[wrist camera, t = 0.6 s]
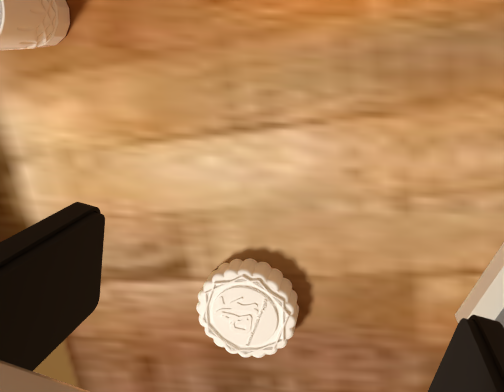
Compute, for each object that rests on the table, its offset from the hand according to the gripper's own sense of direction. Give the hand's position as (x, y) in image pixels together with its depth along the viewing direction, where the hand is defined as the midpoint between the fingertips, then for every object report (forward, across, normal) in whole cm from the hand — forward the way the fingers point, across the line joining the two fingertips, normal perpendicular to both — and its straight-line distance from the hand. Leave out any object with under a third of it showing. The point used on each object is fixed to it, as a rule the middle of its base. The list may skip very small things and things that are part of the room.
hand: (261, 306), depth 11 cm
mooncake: (+35, +4, +24) cm, 42 cm away
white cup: (+34, +33, -4) cm, 48 cm away
